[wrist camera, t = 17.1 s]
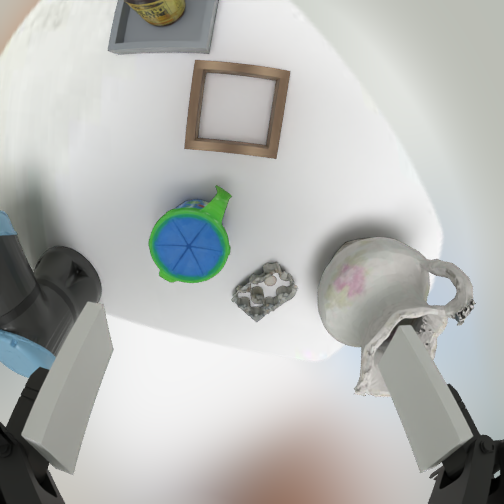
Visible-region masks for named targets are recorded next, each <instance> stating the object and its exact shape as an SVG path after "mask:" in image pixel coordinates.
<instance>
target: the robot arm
mask: <svg viewBox="0 0 504 504" xmlns="http://www.w3.org/2000/svg"><path fill="white" fill-rule="evenodd" d="M100 296H101V284H100V280H99V277H98V275H97V273H96V271H95V270H94V268H93V267H92V265H91V264H90V263H89V262H88V261H87V260H86V259H85V258H84V257H83V256H82V255H81V254H79V253H78V252H76V251H74V250H72V249H70V248H66V247H53V248H51V249H49V250H47V251H46V252H45V253H44V254H43V255H42V256H41V257H40V259H39V260H38V262H37V264H36V267H35V270H34V272H33V271H32V269H31V267H30V265H29V263H28V261H27V258H26V256H25V254H24V252H23V249H22V247H21V245H20V242H19V240H18V237H17V232H15V231H14V228H13V226H12V224H11V221H10V219H9V217H8V215H7V214H6V213H5V212H4V211H1V210H0V361H1V362H2V363H3V364H4V365H5V366H7V367H8V368H9V369H11V370H12V371H14V372H16V373H18V374H20V375H22V376H24V377H27V378H29V379H28V381H27V383H26V385H25V388H24V389H23V391H22V393H21V397H19V399H18V402H17V404H16V406H15V408H14V410H13V412H12V415H11V417H10V419H9V422H8V424H7V426H6V427H5V426H4V425H3V424H2V423H1V422H0V504H65V502H64V501H63V498H62V496H61V495H60V493H59V491H58V489H57V487H56V484H55V482H54V480H53V478H52V476H51V474H50V472H49V470H48V465H49V463H50V464H51V465H52V466H54V467H55V468H56V469H59V470H61V471H64V472H67V473H69V474H72V475H73V473H74V470H75V466H76V462H77V458H78V455H79V451H80V447H81V444H82V440H83V437H84V434H85V430H86V427H87V424H88V421H89V417H90V414H91V411H92V408H93V405H94V402H95V399H96V396H97V393H98V390H99V387H100V385H101V382H102V379H103V376H104V374H105V371H106V368H107V365H108V363H109V360H110V358H111V355H112V352H113V346H112V341H111V337H110V333H109V328H108V324H107V319H106V314H105V309H104V304H99V303H98V301H99V299H100ZM377 365H378V368H379V370H380V372H381V374H382V377H383V379H384V381H385V384H386V386H387V388H388V391H389V393H390V395H391V398H392V400H393V402H394V405H395V407H396V410H397V412H398V415H399V417H400V420H401V422H402V425H403V427H404V430H405V432H406V435H407V438H408V440H409V443H410V445H411V448H412V451H413V453H414V456H415V459H416V462H417V465H418V467H419V470H420V473H422V472H425V471H427V470H430V469H432V468H434V467H435V466H437V465H438V464H440V463H441V462H442V463H443V466H442V467H440V468H439V469H437V470H436V471H435V472H433V473H432V474H431V475H430V477H429V478H433V477H434V476H435V475H437V474H438V476H436V477H435V478H434V480H436V482H435V485H434V488H433V491H432V494H431V497H430V499H429V502H428V504H504V440H496V441H493V440H492V439H491V438H490V437H489V436H487V435H480V434H479V432H478V430H477V428H476V426H475V424H474V422H473V420H472V418H471V416H470V414H469V412H468V410H467V409H465V405H464V403H463V402H462V399H461V397H460V396H459V394H458V392H457V391H456V390H455V389H454V388H453V387H452V386H451V385H450V384H446V382H445V380H444V379H443V377H442V375H441V373H440V372H439V370H438V368H437V366H436V365H435V363H434V361H433V360H432V358H431V356H430V355H429V353H428V351H427V350H426V348H425V346H424V345H423V343H422V342H421V340H420V338H419V337H418V335H417V334H416V332H415V330H414V329H413V327H412V326H411V325H401V326H399V327H398V329H397V331H396V332H395V334H394V336H393V338H392V340H391V342H390V343H389V345H388V347H387V349H386V351H385V352H384V354H383V356H382V357H381V359H380V361H379V363H378V364H377ZM499 470H500V476H498V477H497V478H494V474H495V473H496V472H497V471H499Z"/></svg>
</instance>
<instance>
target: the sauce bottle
mask: <svg viewBox="0 0 504 504" xmlns="http://www.w3.org/2000/svg"><path fill="white" fill-rule="evenodd" d="M124 1H125V2H126V3H127V4H128V5H129V6H130V7H131V8H132V9H133V10H134V11H135V12H136V13H137V14H139V15H140V16H141V17H142V18H143V19H144V20H145V21H146V22H148V23H149V24H152V25H154V26H167V25H171V24H173V23H175V22H176V21H177V20H178V19H180V18H181V17H182V15H183V14H184V10H185V0H124Z"/></svg>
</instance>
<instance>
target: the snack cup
mask: <svg viewBox="0 0 504 504" xmlns="http://www.w3.org/2000/svg"><path fill="white" fill-rule="evenodd" d="M215 187H216V189H217V194H216V196H215V197H214V198H213V199H212V200H211V202H210V203H209V202H206V201H203V200H199V199H194V200H187V201H185V202H183V203H182V204H180V205H179V206H178V207H176V208H175V209H172V210H170V211H168V212H166V214H165V215H163V216H162V217H161V218H160V219H159V220H158V221H157V223H156V224H155V226H154V228H153V230H152V232H151V235H150V239H149V248H150V253H151V256H152V259H153V261H154V262H155V264H156V265H157V267H158V268H159V269H160V272H159V276H160V277H162V278H163V279H165V280H167V281H169V282H175V281H181V282H186V283H198V282H202V281H206V280H208V279H210V278H212V277H214V276H215V275H216V274H218V273H219V272H220V271H221V270H222V268H223V267H224V265H225V263H226V261H227V258H228V255H229V254H230V245H229V240H228V236H227V233H226V230H225V228H224V227H223V225H222V219H223V215H224V213H225V209H226V207H227V204H228V201H229V199H230V198H231V197H232V196H231V195H230V194H229V193H228V192H226V191H225V190H224V189H222V188H221V187H219V186H217V185H216V186H215Z"/></svg>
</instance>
